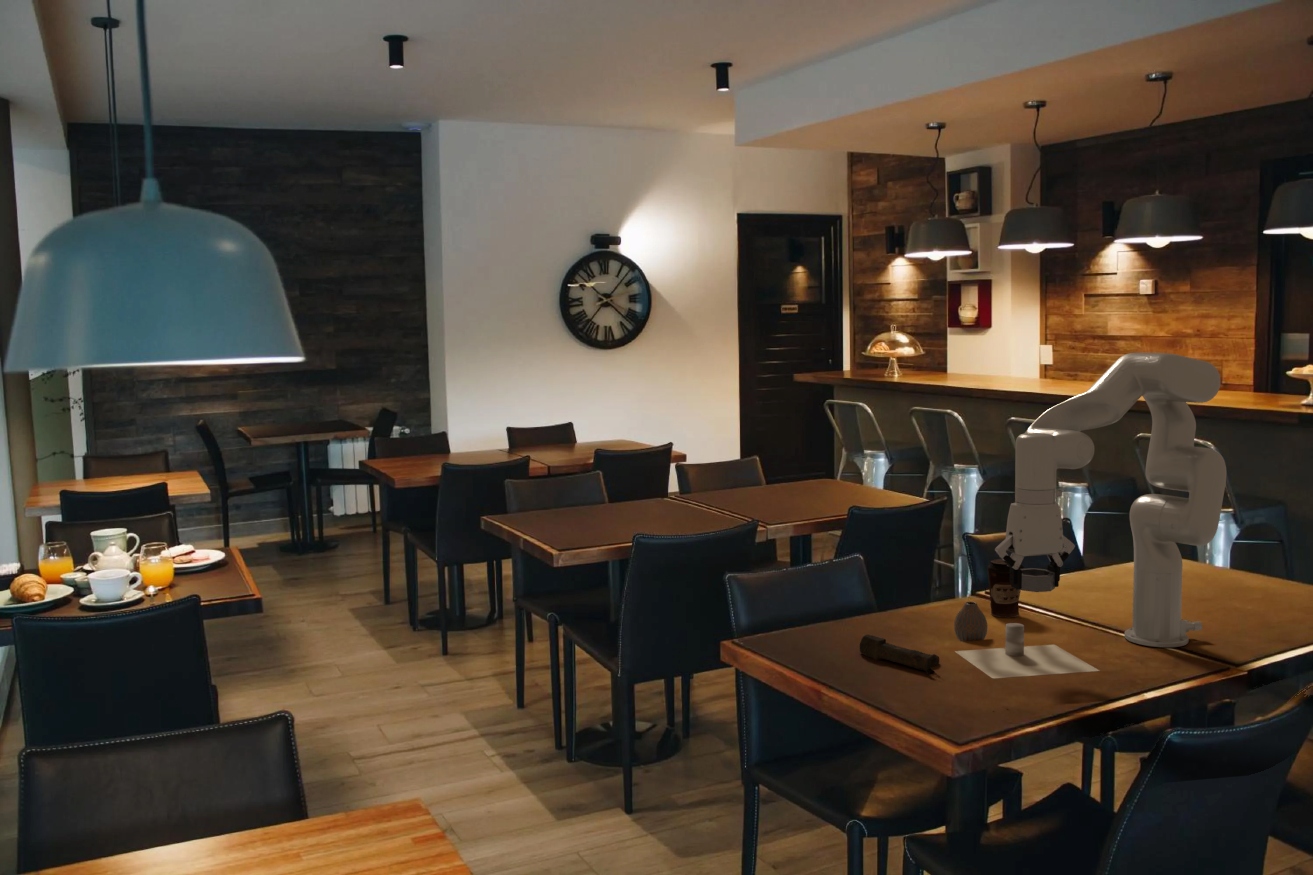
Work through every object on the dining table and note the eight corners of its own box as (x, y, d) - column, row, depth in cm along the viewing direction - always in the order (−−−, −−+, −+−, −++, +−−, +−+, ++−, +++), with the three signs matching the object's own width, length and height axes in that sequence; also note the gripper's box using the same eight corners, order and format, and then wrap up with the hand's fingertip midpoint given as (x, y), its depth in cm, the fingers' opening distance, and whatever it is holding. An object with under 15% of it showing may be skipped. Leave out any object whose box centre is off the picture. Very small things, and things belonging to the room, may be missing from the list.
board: (1054, 651, 233) (1054, 616, 232) (1100, 678, 215) (1100, 640, 214) (954, 658, 230) (954, 622, 229) (992, 685, 212) (992, 647, 211)
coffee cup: (1028, 619, 257) (1029, 564, 256) (992, 620, 257) (993, 565, 256) (1017, 609, 266) (1017, 556, 265) (982, 610, 266) (982, 557, 265)
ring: (1042, 582, 221) (1042, 567, 221) (1060, 590, 214) (1060, 575, 214) (1009, 584, 220) (1009, 569, 220) (1026, 592, 213) (1026, 577, 213)
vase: (988, 647, 237) (989, 607, 236) (955, 646, 238) (955, 606, 237) (985, 638, 243) (986, 599, 242) (953, 637, 245) (953, 598, 244)
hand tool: (941, 672, 221) (941, 649, 221) (928, 676, 219) (928, 653, 219) (868, 651, 236) (868, 630, 236) (856, 655, 234) (856, 633, 234)
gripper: (1067, 491, 220) (1066, 579, 222) (984, 496, 218) (984, 585, 219) (1087, 497, 213) (1086, 588, 215) (1002, 502, 210) (1001, 594, 212)
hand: (1034, 585), depth 217 cm, fingers closed on ring, 7 cm apart
